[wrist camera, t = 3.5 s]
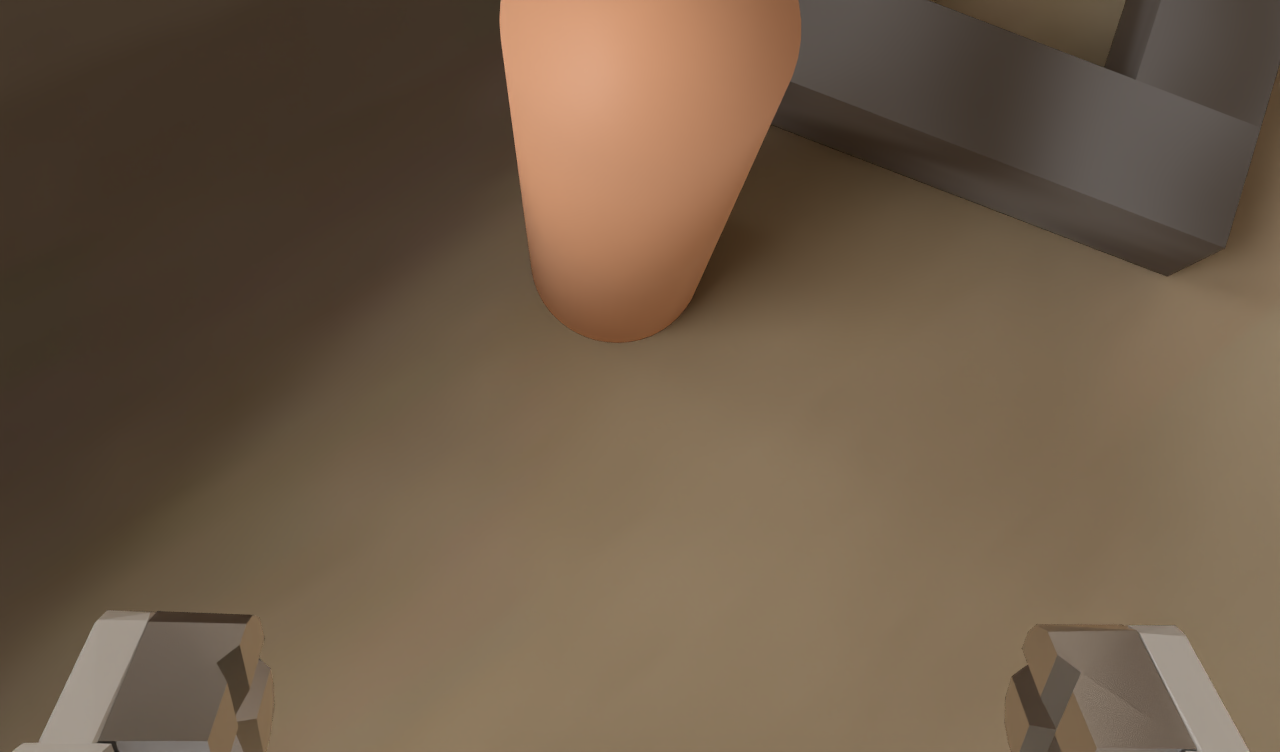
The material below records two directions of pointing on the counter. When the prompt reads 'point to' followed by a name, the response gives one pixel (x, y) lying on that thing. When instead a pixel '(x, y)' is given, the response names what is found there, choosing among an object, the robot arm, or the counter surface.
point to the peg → (637, 144)
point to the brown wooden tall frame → (1051, 115)
